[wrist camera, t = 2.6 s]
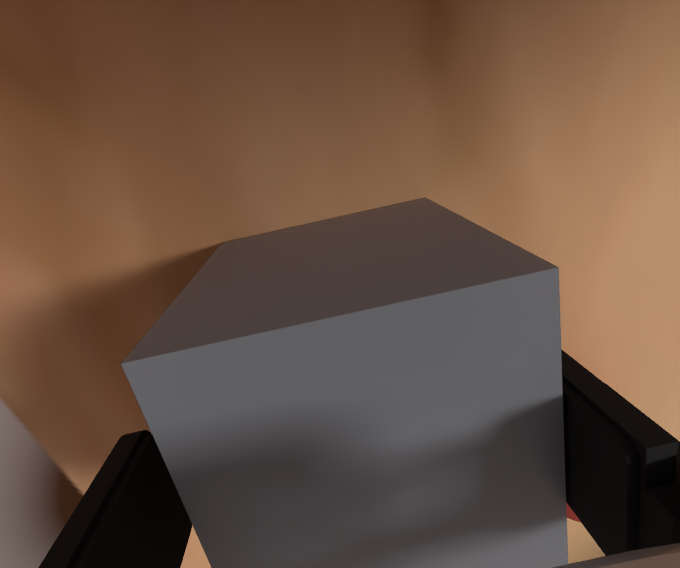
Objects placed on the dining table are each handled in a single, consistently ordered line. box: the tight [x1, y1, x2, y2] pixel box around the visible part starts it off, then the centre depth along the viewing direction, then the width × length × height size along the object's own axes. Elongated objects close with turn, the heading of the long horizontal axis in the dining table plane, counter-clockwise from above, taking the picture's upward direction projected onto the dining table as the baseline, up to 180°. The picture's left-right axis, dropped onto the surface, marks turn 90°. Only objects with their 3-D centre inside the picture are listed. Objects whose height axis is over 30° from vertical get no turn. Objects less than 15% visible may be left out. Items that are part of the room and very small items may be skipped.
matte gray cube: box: [121, 198, 568, 568], centre depth 13 cm, size 8×8×9 cm
